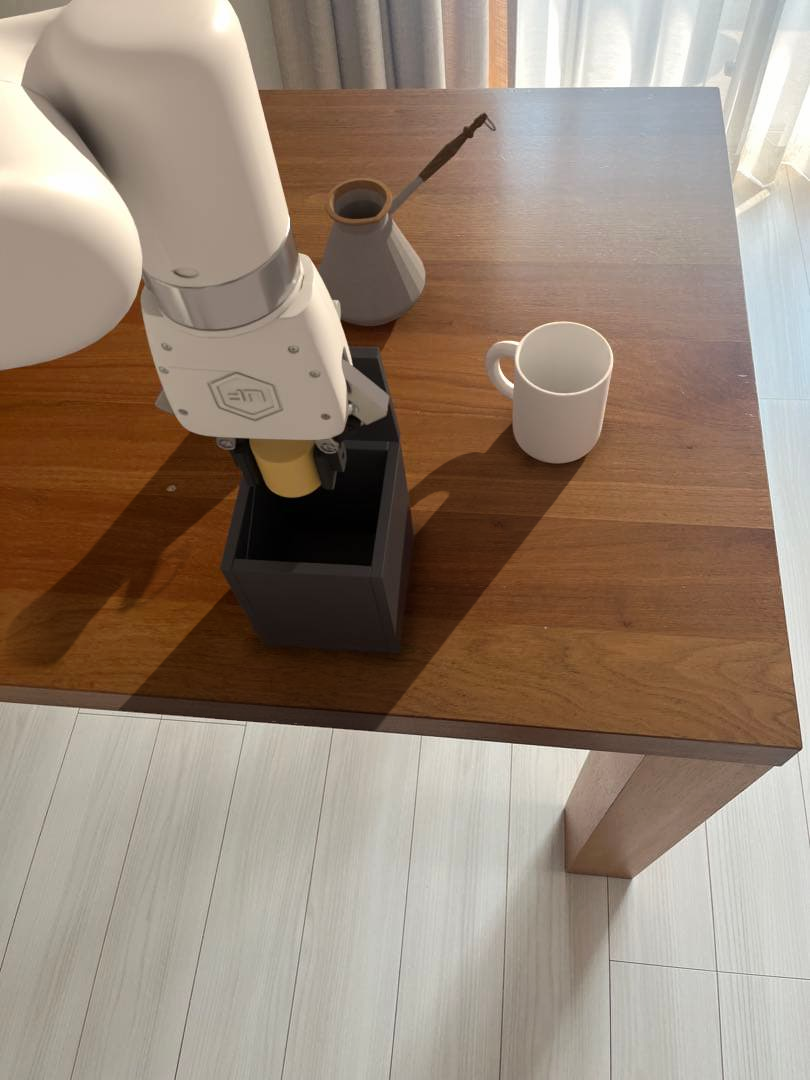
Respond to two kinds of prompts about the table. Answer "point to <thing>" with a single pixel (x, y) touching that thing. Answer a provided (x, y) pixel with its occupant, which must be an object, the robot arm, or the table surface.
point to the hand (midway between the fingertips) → (294, 468)
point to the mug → (555, 388)
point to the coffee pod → (286, 465)
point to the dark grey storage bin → (327, 556)
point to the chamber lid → (373, 369)
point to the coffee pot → (376, 245)
